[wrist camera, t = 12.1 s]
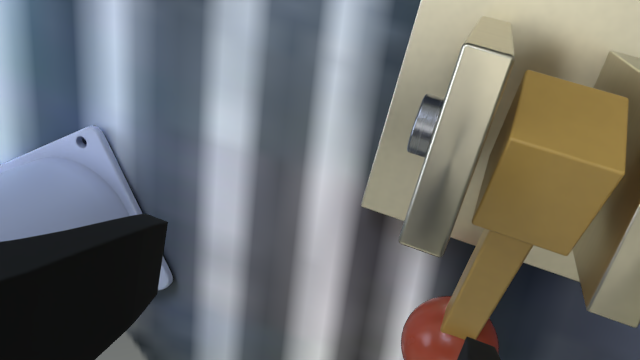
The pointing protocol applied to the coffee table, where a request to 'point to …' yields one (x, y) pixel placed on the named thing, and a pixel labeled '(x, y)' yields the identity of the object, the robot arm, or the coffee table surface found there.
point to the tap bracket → (488, 117)
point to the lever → (528, 203)
